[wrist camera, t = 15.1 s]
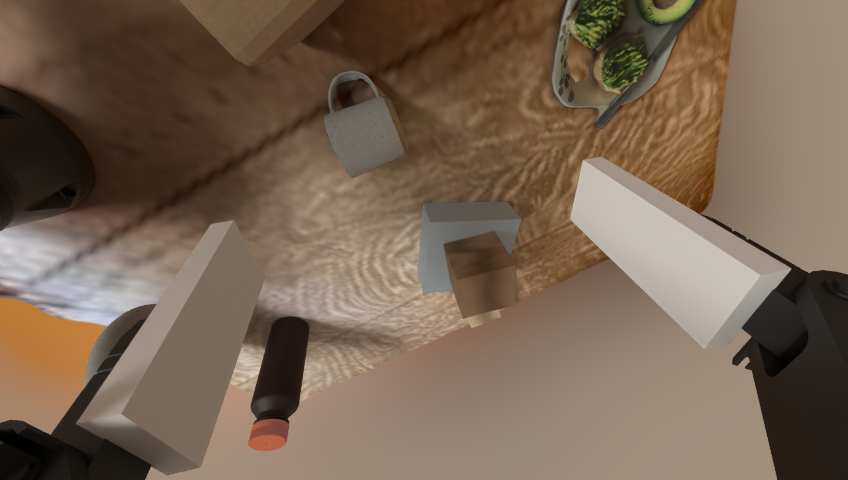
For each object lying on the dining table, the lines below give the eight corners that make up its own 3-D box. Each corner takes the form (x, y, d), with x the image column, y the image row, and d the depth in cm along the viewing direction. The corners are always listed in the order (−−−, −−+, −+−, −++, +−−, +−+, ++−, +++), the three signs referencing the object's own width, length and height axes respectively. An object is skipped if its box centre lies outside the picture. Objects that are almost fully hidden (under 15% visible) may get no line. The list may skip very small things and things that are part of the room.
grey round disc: (123, 290, 48) (19, 415, 33) (162, 272, 48) (74, 392, 33) (215, 350, 59) (168, 463, 44) (247, 336, 59) (210, 446, 44)
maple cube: (463, 304, 65) (471, 328, 60) (454, 286, 61) (463, 309, 56) (490, 294, 64) (501, 316, 59) (483, 275, 60) (494, 297, 56)
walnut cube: (449, 280, 52) (462, 318, 45) (443, 243, 47) (456, 280, 40) (496, 268, 52) (515, 304, 46) (494, 230, 47) (516, 265, 41)
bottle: (290, 310, 57) (265, 426, 41) (317, 327, 61) (304, 439, 45) (263, 328, 58) (228, 447, 42) (291, 343, 62) (269, 458, 46)
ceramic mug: (407, 142, 42) (415, 162, 36) (352, 164, 43) (351, 188, 37) (374, 57, 36) (378, 65, 30) (310, 85, 37) (301, 98, 30)
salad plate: (639, 124, 48) (663, 133, 44) (530, 127, 45) (546, 137, 41) (711, -47, 36) (752, -54, 33) (572, -58, 33) (599, -67, 30)
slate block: (417, 269, 57) (423, 293, 52) (422, 201, 49) (430, 222, 44) (489, 264, 60) (501, 287, 55) (506, 200, 51) (521, 219, 47)
